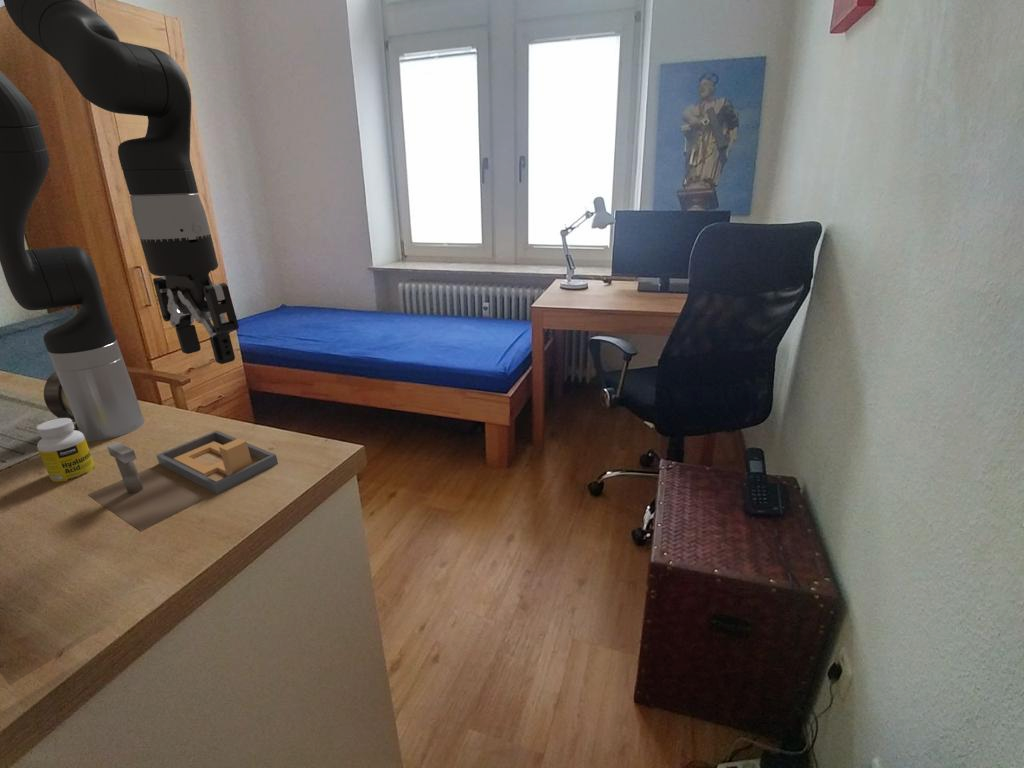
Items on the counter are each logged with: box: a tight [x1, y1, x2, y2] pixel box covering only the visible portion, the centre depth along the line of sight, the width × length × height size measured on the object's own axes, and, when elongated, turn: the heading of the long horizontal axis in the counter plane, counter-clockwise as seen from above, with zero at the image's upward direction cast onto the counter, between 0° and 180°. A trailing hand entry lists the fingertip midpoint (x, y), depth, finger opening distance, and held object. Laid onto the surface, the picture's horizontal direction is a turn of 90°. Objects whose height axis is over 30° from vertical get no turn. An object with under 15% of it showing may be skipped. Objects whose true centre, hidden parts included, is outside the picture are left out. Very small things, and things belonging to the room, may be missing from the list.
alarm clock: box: [43, 370, 79, 431], centre depth 93 cm, size 11×5×16 cm, turn 168°
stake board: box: [87, 441, 206, 532], centre depth 69 cm, size 16×8×8 cm, turn 58°
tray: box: [156, 430, 279, 495], centre depth 78 cm, size 17×10×3 cm, turn 58°
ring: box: [173, 437, 253, 477], centre depth 77 cm, size 14×6×6 cm, turn 58°
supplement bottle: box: [36, 418, 96, 483], centre depth 75 cm, size 5×5×10 cm
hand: (208, 357), depth 68 cm, fingers open, 8 cm apart
